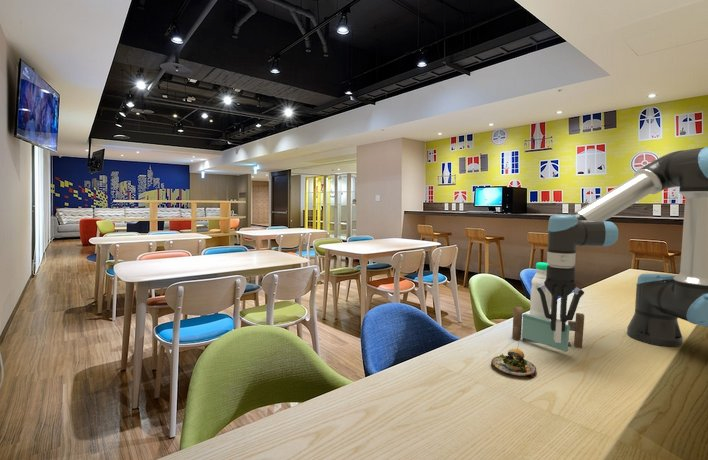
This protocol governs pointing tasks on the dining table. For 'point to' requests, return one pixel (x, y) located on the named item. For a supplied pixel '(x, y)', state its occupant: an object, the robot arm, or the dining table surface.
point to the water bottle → (535, 295)
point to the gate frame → (574, 325)
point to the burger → (514, 364)
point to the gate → (543, 332)
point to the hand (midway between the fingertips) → (557, 340)
